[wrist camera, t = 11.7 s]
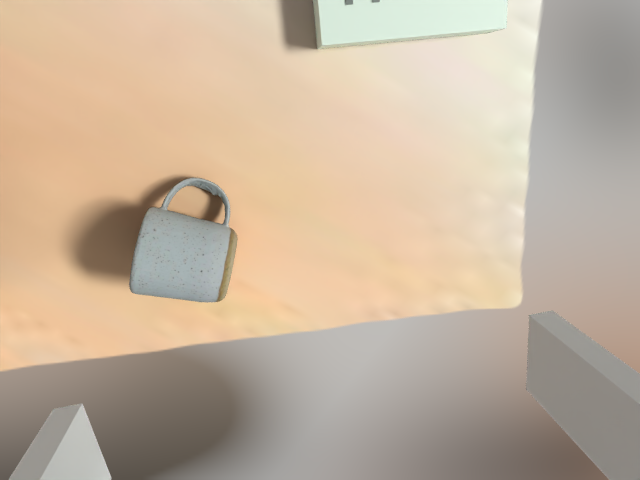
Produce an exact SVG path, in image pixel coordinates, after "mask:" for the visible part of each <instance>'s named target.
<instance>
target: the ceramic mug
mask: <svg viewBox="0 0 640 480" xmlns="http://www.w3.org/2000/svg"><path fill="white" fill-rule="evenodd" d="M185 186H196V187H199V188H202V189H205V190H207V191H209V192H211V193H212V195H218V196H219V197H221V199H222V201H223V203H224V206H225V220H224V223H223V224H219V223H215V222H211V221H207V220H203V219H197V218H194V217H190V216H187V215H184V214H180V213H176V212H172V211H168V210H167V207H168V205H169V203H170V201H171V199H172V198H173V196H174V195H175V194H176V193H177V192H178V191H179V190H180V189H181V188H183V187H185ZM229 218H230V204H229V200H228V198H227V196H226V194H225V192H224V191H223V190H222V189H221V188H220V187H219V186H218V185H216V184H215V183H213V182H211V181H208V180H205V179H202V178H189V179H185V180H183V181H181V182H179V183H178V184H176V185H175V186H174V187H173V188H172V189H171V190H170V191H169V193H168V194H167V196H166V198H165V199H164V201H163V204H162V206H161V207H160V208H156V207H151V208H149V209H148V211H147V212H146V214H145V216H144V219H143V222H142V225H141V227H140V231H139V234H138V239H137V242H136V246H135V250H134V256H133V261H132V267H131V275H130V283H129V286H130V290H131V292H132V293H135V294H141V295H150V296H157V297H166V298H173V299H183V300H190V301H197V302H218V301H221V300H222V299H223V298H224V297H225V296H226V293H227V290H228V286H229V282H230V278H231V273H232V268H233V263H234V258H235V252H236V246H237V234H236V233H235V231H234V230H233V229H231V228H229V225H228V223H229Z"/></svg>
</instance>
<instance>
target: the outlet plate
mask: <svg viewBox="0 0 640 480" xmlns="http://www.w3.org/2000/svg"><path fill="white" fill-rule="evenodd" d="M507 4H508V0H313V7H314V18H315V29H316V40H317V49H324V48H335V47H345V46H356V45H366V44H377V43H388V42H398V41H409V40H419V39H430V38H440V37H451V36H462V35H472V34H483V33H490V32H494V31H498V30H502V29H505V28H507Z"/></svg>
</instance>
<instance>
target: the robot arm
mask: <svg viewBox="0 0 640 480" xmlns="http://www.w3.org/2000/svg"><path fill="white" fill-rule="evenodd" d="M527 359H528V360H527V383H526V390H527V391H528V392H529V393H530V394H531V395H532V396H533V397H534V398H535V400H536V401H537V402H538V403H539V404H540V405H541V406H542V407H543V408H544V409H545V410H546V412H547V413H548V414H549V415H550V416H551V417H552V418H553V419H554V420H555V421H556V422H557V423H558V424H559V426H560V427H561V428H562V429H563V430H564V431H565V432H566V433H567V434H568V435H569V436H570V437H571V439H572V440H573V441H574V442H575V443H576V444H577V445H578V446H579V447H580V448H581V449H582V451H583V452H584V453H585V454H586V455H587V456H588V457H589V458H590V459H591V460H592V461H593V462H594V464H595V465H596V466H597V467H598V468H599V469H600V470H601V471H602V472H603V474H604V475H605V476H606V477H607V478H608V479H609V480H640V374H639V373H638V372H636V371H635V370H633V369H632V368H631V367H629V366H628V365H627V364H625V363H624V362H623V361H621V360H620V359H619V358H617V357H616V356H614V355H613V354H612V353H610V352H609V351H607V350H606V349H605V348H603V347H602V346H601V345H599V344H598V343H596V342H595V341H594V340H592V339H591V338H590V337H588V336H587V335H586V334H584V333H583V332H581V331H580V330H579V329H577V328H576V327H574V326H573V325H572V324H570V323H569V322H568V321H566V320H565V319H564V318H562V317H561V316H559V315H558V314H557V313H555V312H554V311H548V312H543V313H538V314H533V315H529V333H528V358H527ZM9 480H111V476H110V474H109V471H108V468H107V466H106V463H105V461H104V458H103V456H102V453H101V450H100V448H99V445H98V443H97V440H96V437H95V435H94V432H93V430H92V427H91V425H90V422H89V419H88V417H87V414H86V412H85V409H84V407H83V404H82V403H81V404H76V405H72V406H67V407H61V408H56V409H53V410H52V412H51V414H50V415H49V417H48V418H47V420H46V421H45V423H44V425H43V426H42V428H41V429H40V431H39V432H38V434H37V436H36V437H35V439H34V440H33V442H32V443H31V445H30V447H29V448H28V450H27V451H26V453H25V455H24V456H23V458H22V459H21V461H20V462H19V464H18V466H17V467H16V469H15V470H14V472H13V473H12V475H11V477H10V478H9Z"/></svg>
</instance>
